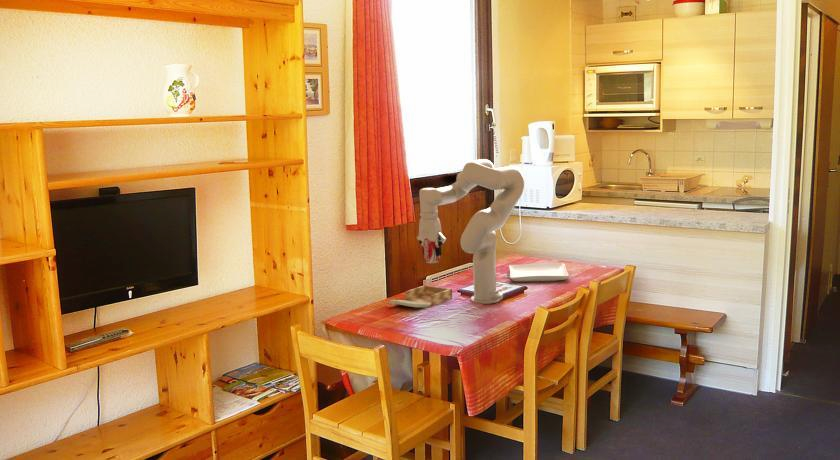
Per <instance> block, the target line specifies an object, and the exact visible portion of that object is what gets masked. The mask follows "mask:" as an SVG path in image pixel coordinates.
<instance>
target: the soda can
mask: <svg viewBox="0 0 840 460" xmlns="http://www.w3.org/2000/svg"><path fill="white" fill-rule="evenodd" d="M438 244H439V243H438ZM423 247H424V255H423V258H424V259H423V260H424V262H425V263H427V264H436V263H439V262H440V260H441V256H436V249H435V248H436V244H435V242H431V241H430V240H429V239H428V238H425V239H424V241H423V246H422V248H423Z"/></svg>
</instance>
